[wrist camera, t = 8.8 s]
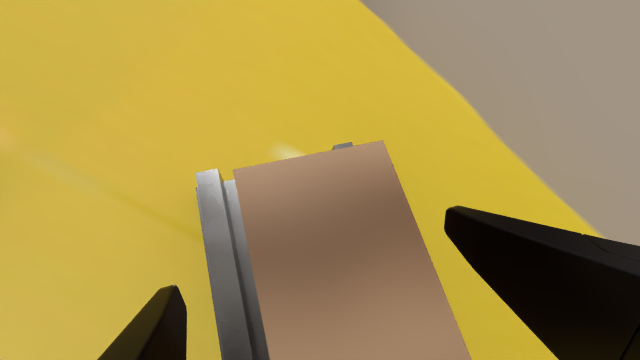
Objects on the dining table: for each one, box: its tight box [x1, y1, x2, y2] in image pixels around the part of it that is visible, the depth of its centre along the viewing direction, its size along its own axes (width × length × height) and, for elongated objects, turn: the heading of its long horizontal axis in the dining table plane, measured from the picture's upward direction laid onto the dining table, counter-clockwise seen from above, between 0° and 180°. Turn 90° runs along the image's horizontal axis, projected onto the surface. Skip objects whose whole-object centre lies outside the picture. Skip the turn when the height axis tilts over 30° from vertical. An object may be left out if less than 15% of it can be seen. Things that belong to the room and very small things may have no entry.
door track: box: [196, 142, 353, 360], centre depth 16 cm, size 16×10×3 cm, turn 17°
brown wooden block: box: [233, 140, 471, 360], centre depth 11 cm, size 8×4×10 cm, turn 16°
